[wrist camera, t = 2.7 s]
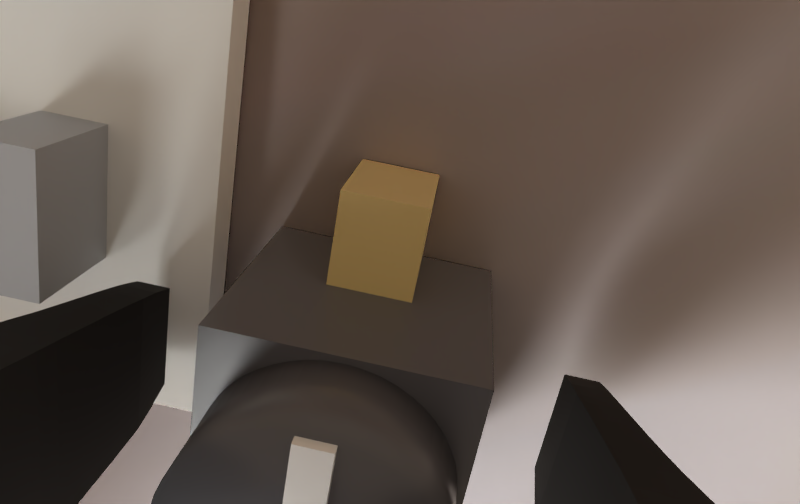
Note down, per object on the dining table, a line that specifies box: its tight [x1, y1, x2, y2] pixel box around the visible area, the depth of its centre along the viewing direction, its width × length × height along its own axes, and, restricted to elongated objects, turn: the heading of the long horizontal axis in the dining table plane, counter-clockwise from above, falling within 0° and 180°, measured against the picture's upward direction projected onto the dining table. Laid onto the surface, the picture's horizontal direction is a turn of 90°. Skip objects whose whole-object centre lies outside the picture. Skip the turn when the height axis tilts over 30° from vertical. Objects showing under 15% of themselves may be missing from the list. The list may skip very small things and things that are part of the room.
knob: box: [151, 159, 494, 504], centre depth 10 cm, size 6×4×6 cm
